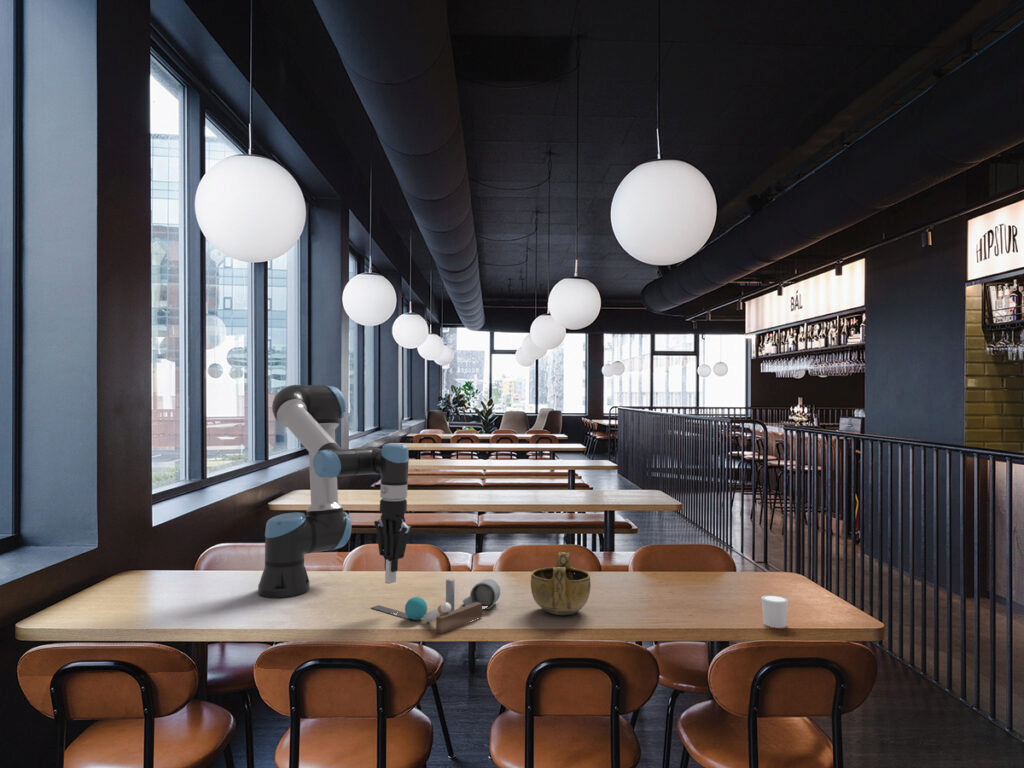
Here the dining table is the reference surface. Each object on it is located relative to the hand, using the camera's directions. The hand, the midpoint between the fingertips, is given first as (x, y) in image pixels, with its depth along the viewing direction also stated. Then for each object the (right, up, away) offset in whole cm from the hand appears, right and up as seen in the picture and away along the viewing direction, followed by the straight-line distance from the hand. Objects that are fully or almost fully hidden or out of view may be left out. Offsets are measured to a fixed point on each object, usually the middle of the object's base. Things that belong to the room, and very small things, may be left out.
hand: (390, 582), depth 183 cm
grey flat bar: (+1, -8, -1) cm, 8 cm away
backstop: (+20, -8, -11) cm, 24 cm away
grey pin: (+17, -8, -1) cm, 19 cm away
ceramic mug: (+25, -9, +6) cm, 28 cm away
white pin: (+11, -7, -9) cm, 16 cm away
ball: (+8, -5, -7) cm, 12 cm away
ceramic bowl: (+48, -9, +1) cm, 49 cm away
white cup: (+106, -9, -7) cm, 106 cm away
